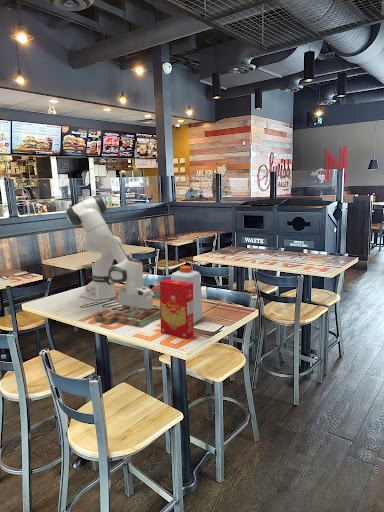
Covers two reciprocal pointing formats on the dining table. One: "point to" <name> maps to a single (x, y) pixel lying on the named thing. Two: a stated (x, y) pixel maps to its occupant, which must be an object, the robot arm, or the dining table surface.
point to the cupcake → (156, 290)
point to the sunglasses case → (144, 314)
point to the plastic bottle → (193, 277)
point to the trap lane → (129, 320)
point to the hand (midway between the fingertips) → (135, 314)
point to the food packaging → (176, 308)
